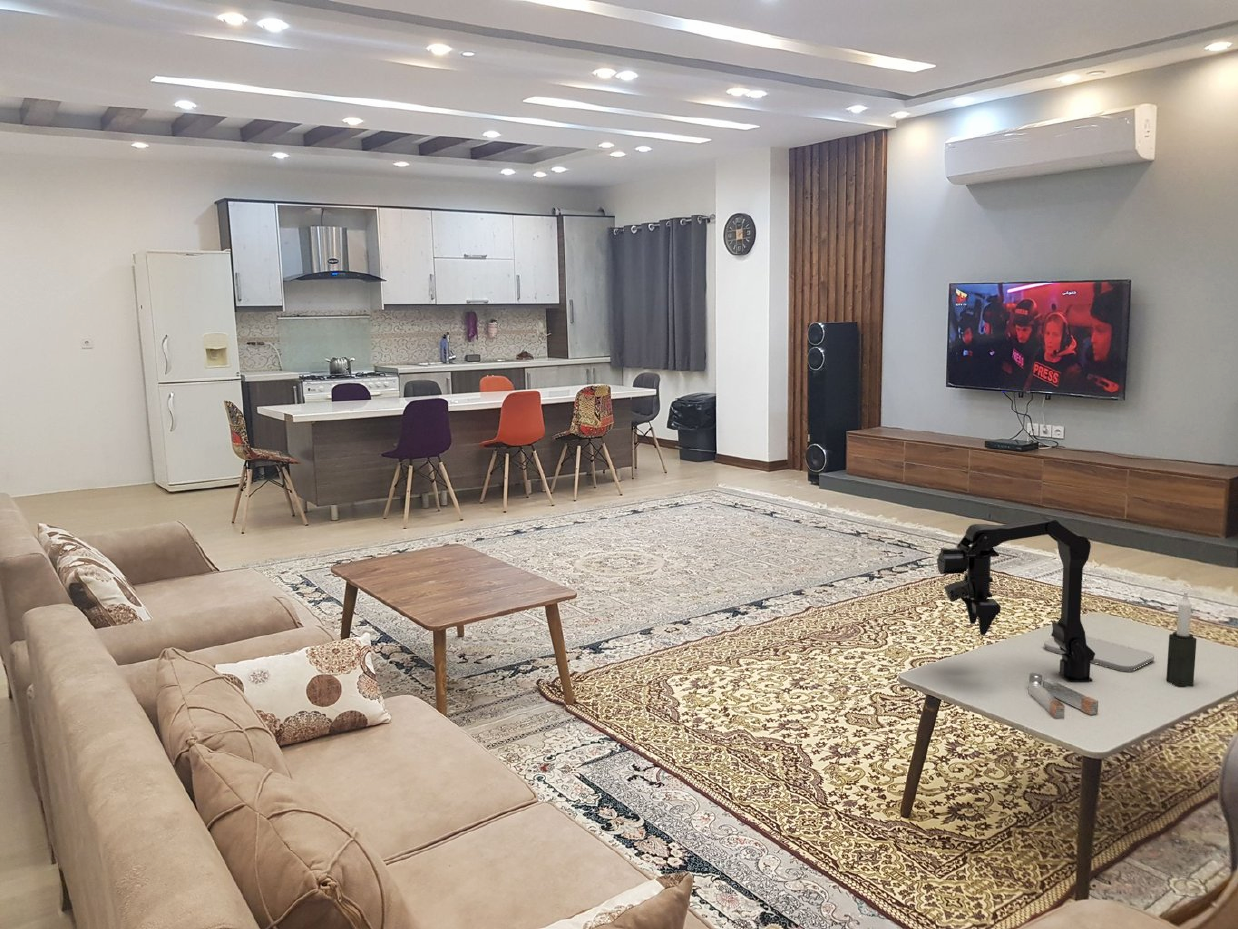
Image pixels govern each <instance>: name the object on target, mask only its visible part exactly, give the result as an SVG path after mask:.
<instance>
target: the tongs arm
mask: <svg viewBox="0 0 1238 929" xmlns="http://www.w3.org/2000/svg"><path fill="white" fill-rule="evenodd" d="M1042 687H1043V688H1044V689H1045V690H1047V691H1048V692H1049V693H1050V694H1051V695H1052V696H1053V697H1054V698H1055V699H1057V700H1060V701H1061V702H1064V703H1066V704H1069V705H1071V706H1072V707H1075V708H1077V709H1079V710H1080V711H1082V712H1083V713H1085V714H1088V715H1090V716H1091V715H1098V714H1099V701H1098V700H1096V699H1095V698H1092V697H1090V696H1087V695H1084V694H1082V693H1080V692H1078V691H1076V690H1074V689H1071V688H1069V687H1067V686H1065V685H1063V684H1061V683H1059V682H1057V681H1055V680H1052V679H1050V678H1046V679H1042Z"/></svg>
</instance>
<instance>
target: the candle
mask: <svg viewBox="0 0 1238 929" xmlns="http://www.w3.org/2000/svg"><path fill="white" fill-rule="evenodd" d="M1188 596H1189V595H1188V591H1184V592H1183V596H1182V597H1181V600H1180V601H1179V602H1178V607H1177V622H1176V631H1174V632H1172V633H1170V634H1169V635H1168V649H1167V651H1168V652H1167V664H1166V665H1167V666H1166V682H1167V683H1170V684H1171V683H1172V684H1171V685H1173V684H1174V685H1175V686H1174V685H1173V686H1174V687H1176V686H1179V687H1178V688H1186V686H1191V687H1194V683H1195V680H1194V679H1195V667H1196V653H1197V652H1196V651H1197V641H1198V640H1197V638H1196V637H1194V635H1193V634H1191V621H1192V620H1191V618H1192V603H1191V602H1190V599H1189V597H1188Z"/></svg>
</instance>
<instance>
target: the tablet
mask: <svg viewBox="0 0 1238 929" xmlns="http://www.w3.org/2000/svg"><path fill="white" fill-rule="evenodd" d="M1085 636H1086V645H1087V646H1088V647H1089V648H1090V649H1091V650H1092V651H1093V652H1094V653H1095V656H1094V659H1093V660H1092V661H1090V662H1092V663H1091V664H1093V663H1098V664H1101V665H1104V666H1107V667H1106V668H1108V667H1110V668H1109V669H1111V668H1113V669H1112V670H1115V669H1116V670H1115V671H1118V670H1120V671H1119V672H1123V671H1131V672H1133V671H1132V670H1134V669H1136V668H1138V667H1140V666H1142V665H1144V664H1146V663H1149V664H1151V663H1152V661H1153V660H1154V659H1155V655H1154V653H1151V652H1149V651H1145V650H1142V649H1138V648H1134V647H1130V646H1126V645H1124V644H1119V643H1114V642H1112V641H1107V640H1103V639H1100V638H1096V637H1093V636H1089V635H1085ZM1043 646H1044V647H1045V648H1046V651H1048V650H1049V651H1048V652H1051V651H1052V652H1051V653H1054V652H1056V653H1055V654H1058V653H1059V654H1058V655H1061V654H1062V653H1065V652H1063V651H1061V650H1060V647H1059V645H1058V644H1056V642H1055V641H1054V637H1052V638H1049V639H1047V640H1044V641H1043ZM1150 662H1151V663H1150ZM1104 666H1103V667H1104ZM1138 669H1139V668H1138ZM1136 670H1137V669H1136ZM1134 671H1135V670H1134Z"/></svg>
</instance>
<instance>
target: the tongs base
mask: <svg viewBox="0 0 1238 929" xmlns="http://www.w3.org/2000/svg"><path fill="white" fill-rule="evenodd" d="M1028 678H1029V679H1028V694H1029V695H1030V696H1031V695H1032V696H1033V699H1034V700H1035V701H1036V702H1037V703H1039V705H1040V706H1042V707H1043V708H1044V709H1045V710H1046V711H1047V712H1048V713H1049V712H1050V713H1049V714H1050V716H1052V717H1053V719H1065V704H1063V703H1062V701H1061V700H1060V701H1059V699H1057V698H1056V697H1054V696H1052V695H1051V694H1050V693H1049V692H1048V691H1047V690H1045V689H1044V688H1043V675H1042V674H1040V673H1038V672H1031V673H1029V674H1028ZM1032 696H1031V697H1032Z"/></svg>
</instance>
